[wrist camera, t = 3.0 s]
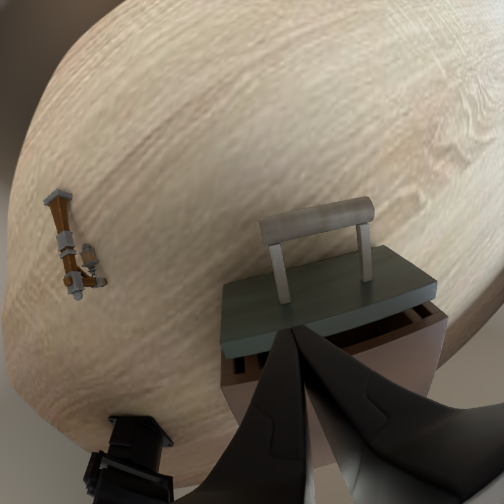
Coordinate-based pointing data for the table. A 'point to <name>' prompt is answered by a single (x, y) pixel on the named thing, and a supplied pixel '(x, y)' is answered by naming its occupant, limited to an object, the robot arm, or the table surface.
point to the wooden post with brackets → (72, 248)
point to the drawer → (322, 287)
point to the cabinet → (369, 353)
